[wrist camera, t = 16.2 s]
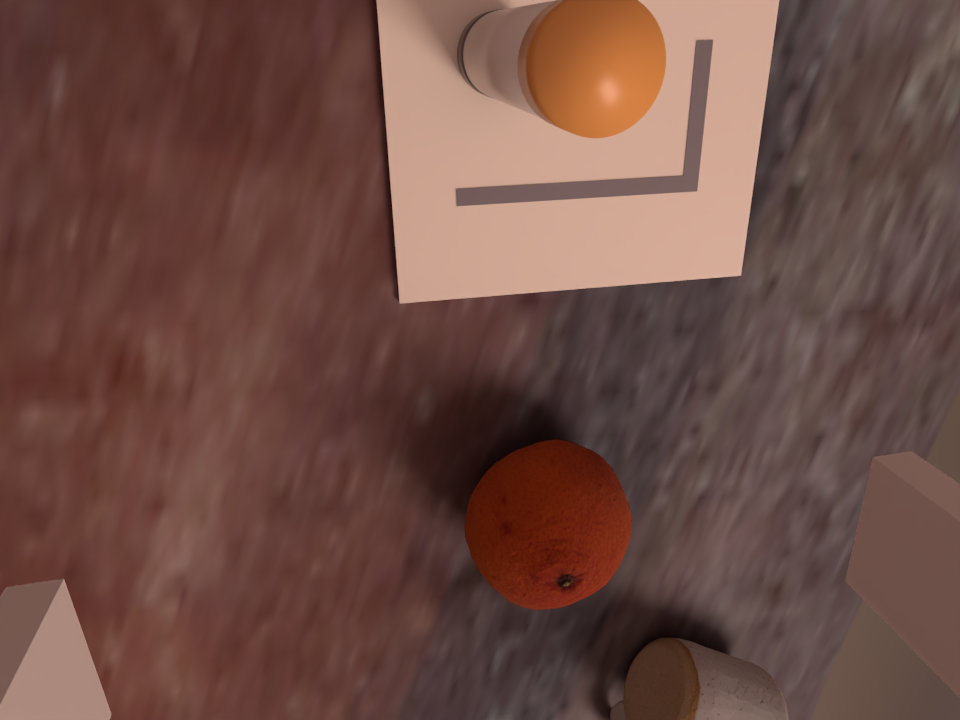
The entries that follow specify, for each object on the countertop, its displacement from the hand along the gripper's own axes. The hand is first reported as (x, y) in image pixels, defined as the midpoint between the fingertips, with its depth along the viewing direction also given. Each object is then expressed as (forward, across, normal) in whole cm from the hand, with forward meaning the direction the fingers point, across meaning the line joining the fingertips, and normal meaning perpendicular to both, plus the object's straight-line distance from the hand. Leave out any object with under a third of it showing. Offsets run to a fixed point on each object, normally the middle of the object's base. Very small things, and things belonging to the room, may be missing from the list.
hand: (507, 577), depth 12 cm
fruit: (+25, +7, -15) cm, 30 cm away
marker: (+24, +5, +8) cm, 25 cm away
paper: (+24, +9, +5) cm, 26 cm away
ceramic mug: (+25, +17, -33) cm, 45 cm away
